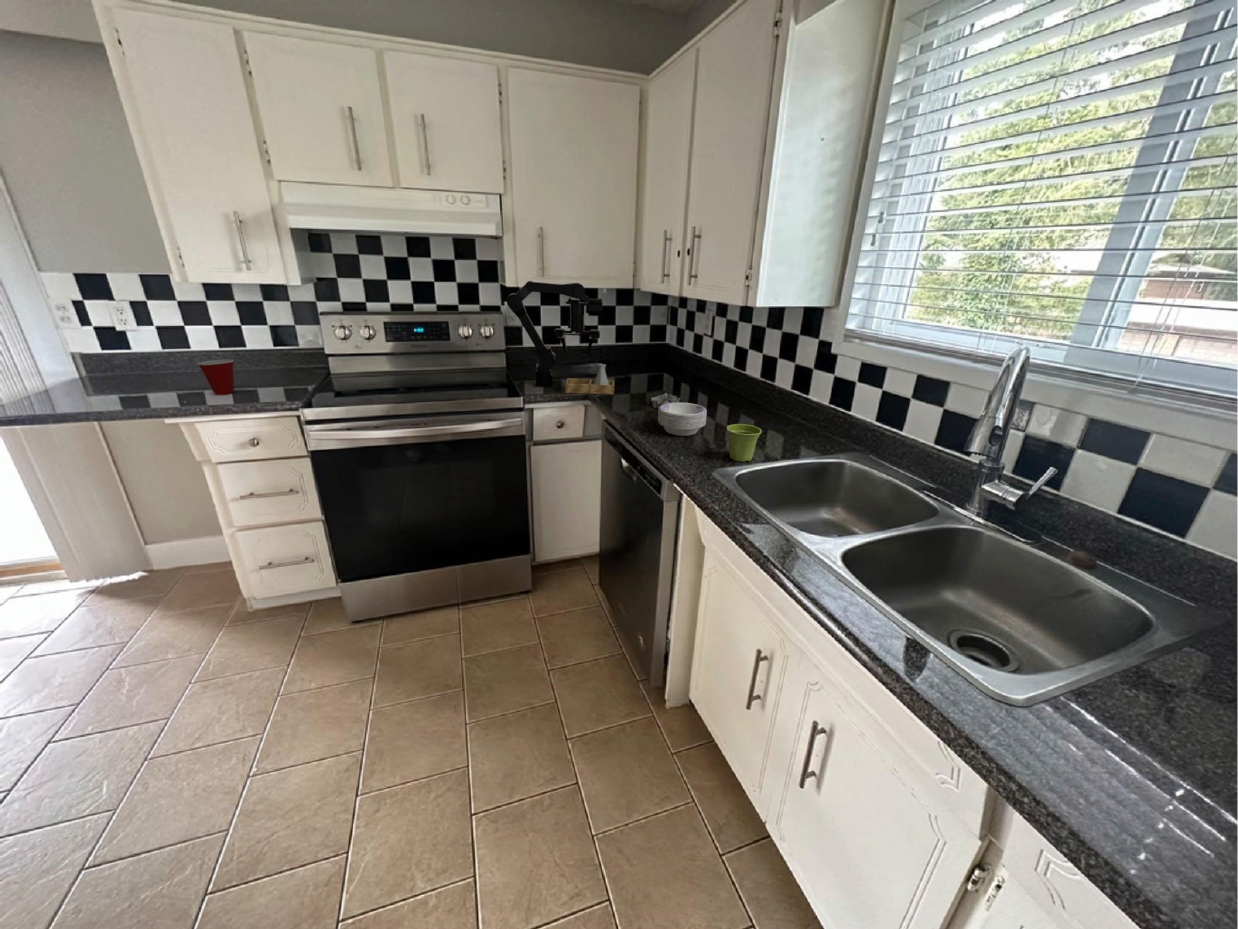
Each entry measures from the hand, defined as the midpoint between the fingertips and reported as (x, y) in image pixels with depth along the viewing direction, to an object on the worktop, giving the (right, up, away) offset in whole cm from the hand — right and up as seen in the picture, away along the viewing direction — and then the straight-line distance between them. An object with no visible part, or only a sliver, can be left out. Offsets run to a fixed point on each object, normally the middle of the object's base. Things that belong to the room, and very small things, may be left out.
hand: (577, 354), depth 209 cm
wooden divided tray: (+6, -16, -3) cm, 17 cm away
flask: (+10, -15, -3) cm, 18 cm away
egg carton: (+35, -24, -21) cm, 47 cm away
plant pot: (+52, -45, -68) cm, 97 cm away
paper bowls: (+37, -36, -48) cm, 71 cm away
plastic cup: (-128, -20, -25) cm, 132 cm away
